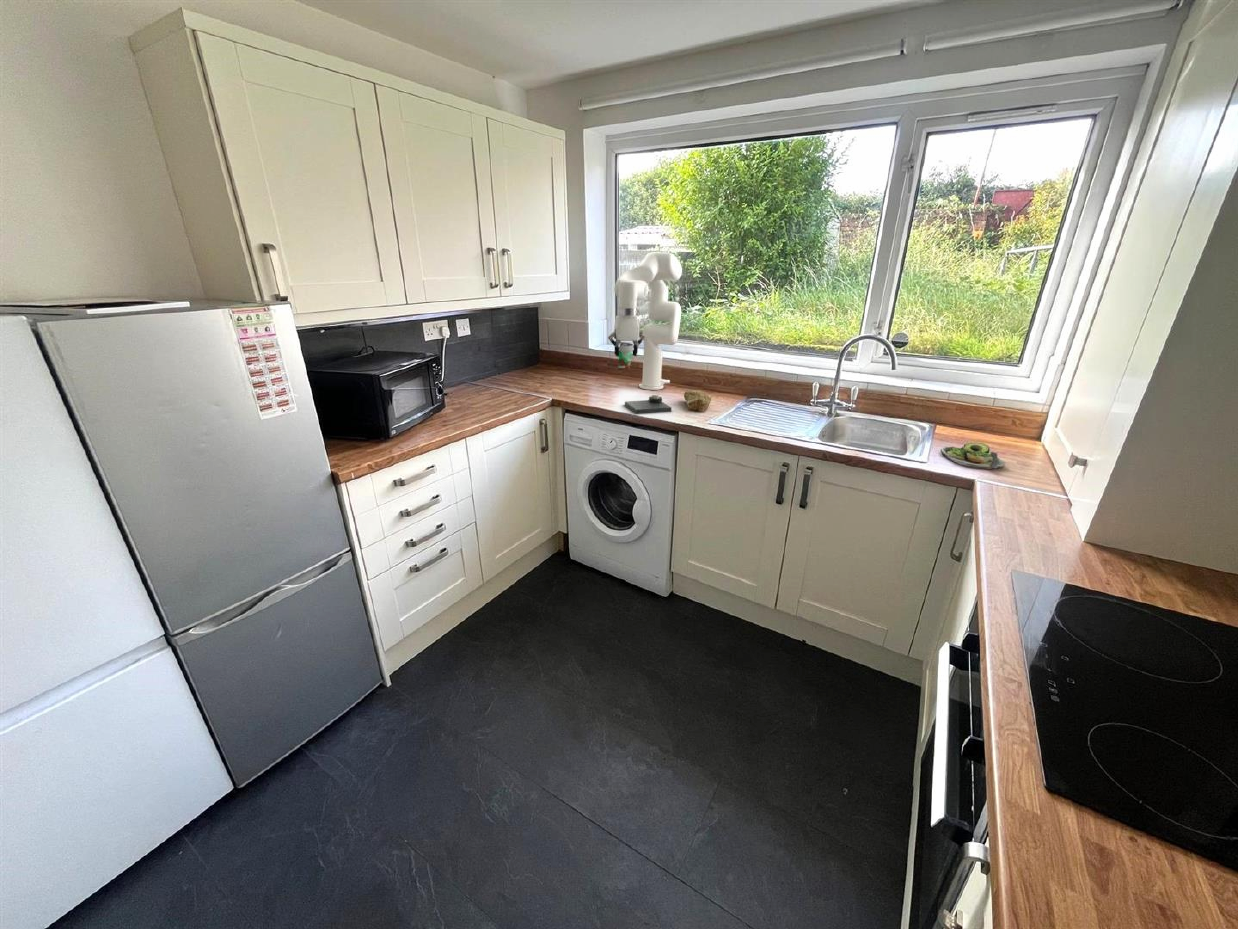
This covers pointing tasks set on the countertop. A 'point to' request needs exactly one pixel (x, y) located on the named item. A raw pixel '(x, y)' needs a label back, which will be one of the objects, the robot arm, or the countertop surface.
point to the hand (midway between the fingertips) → (625, 355)
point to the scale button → (655, 396)
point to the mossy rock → (697, 400)
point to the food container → (625, 355)
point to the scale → (648, 406)
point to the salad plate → (973, 456)
